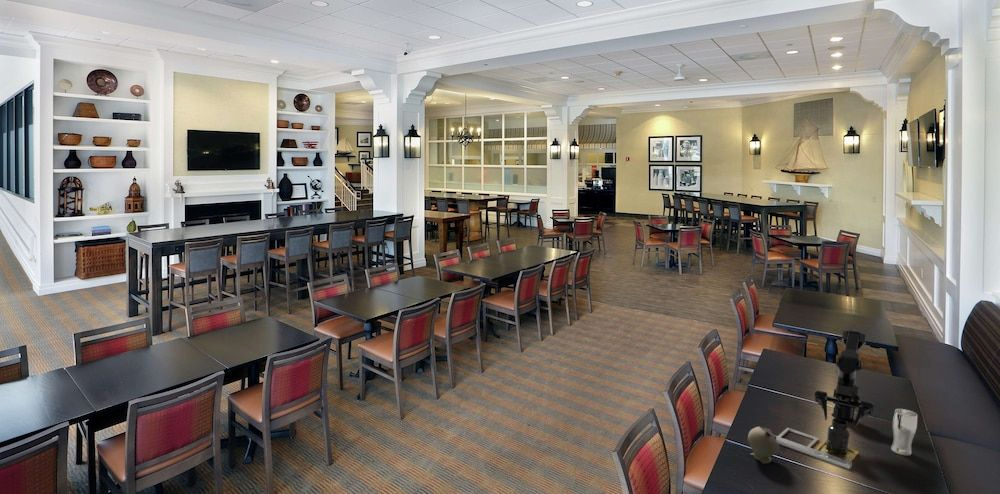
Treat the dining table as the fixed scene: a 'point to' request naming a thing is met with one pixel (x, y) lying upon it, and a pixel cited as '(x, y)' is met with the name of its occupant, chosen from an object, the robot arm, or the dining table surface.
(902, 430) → the beer glass
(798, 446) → the tray
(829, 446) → the supplement bottle
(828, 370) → the dining table surface
